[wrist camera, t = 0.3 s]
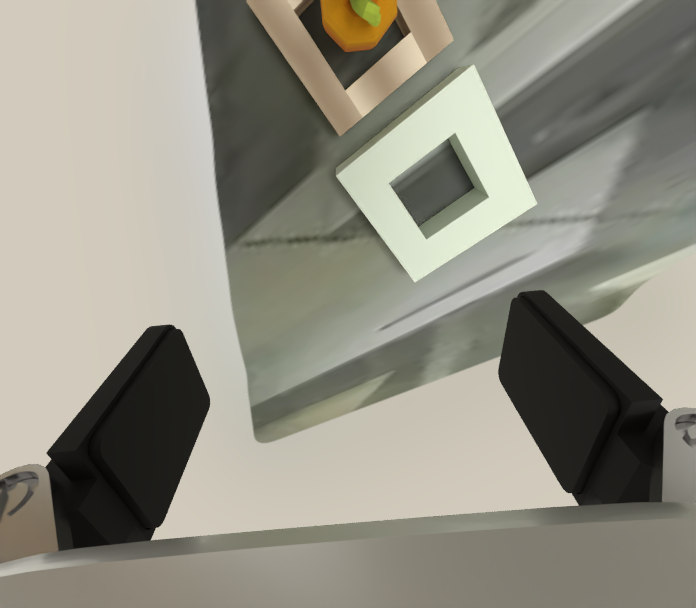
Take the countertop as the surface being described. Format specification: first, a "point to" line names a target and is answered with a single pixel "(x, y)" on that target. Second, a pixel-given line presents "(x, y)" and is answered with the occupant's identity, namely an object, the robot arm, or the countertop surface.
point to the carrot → (357, 21)
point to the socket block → (375, 84)
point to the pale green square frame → (473, 152)
